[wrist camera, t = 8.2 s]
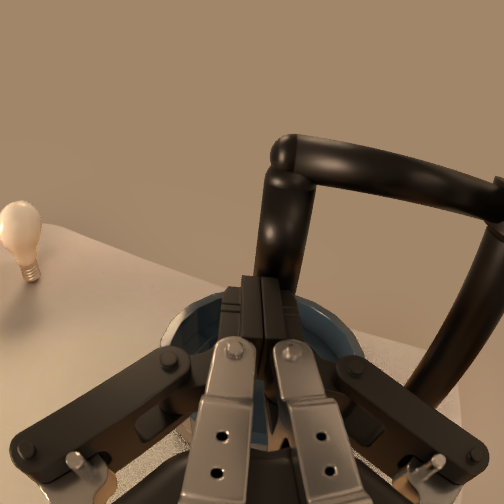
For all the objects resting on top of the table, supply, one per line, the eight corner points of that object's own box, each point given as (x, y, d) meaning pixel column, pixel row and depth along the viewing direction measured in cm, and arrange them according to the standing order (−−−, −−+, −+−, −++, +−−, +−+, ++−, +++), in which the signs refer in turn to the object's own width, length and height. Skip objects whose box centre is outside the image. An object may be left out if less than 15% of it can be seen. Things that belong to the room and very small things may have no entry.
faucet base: (428, 424, 20) (544, 247, 11) (400, 473, 16) (559, 284, 7) (379, 394, 24) (469, 207, 15) (345, 437, 20) (458, 228, 11)
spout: (477, 306, 16) (524, 187, 12) (503, 346, 12) (567, 215, 8) (253, 283, 16) (272, 119, 12) (244, 335, 13) (268, 127, 9)
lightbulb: (33, 263, 35) (17, 191, 30) (62, 272, 35) (46, 194, 29) (5, 287, 30) (-17, 210, 24) (34, 299, 29) (10, 215, 24)
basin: (370, 395, 24) (397, 352, 21) (255, 511, 14) (268, 493, 11) (257, 317, 32) (263, 270, 29) (136, 381, 23) (122, 333, 20)
